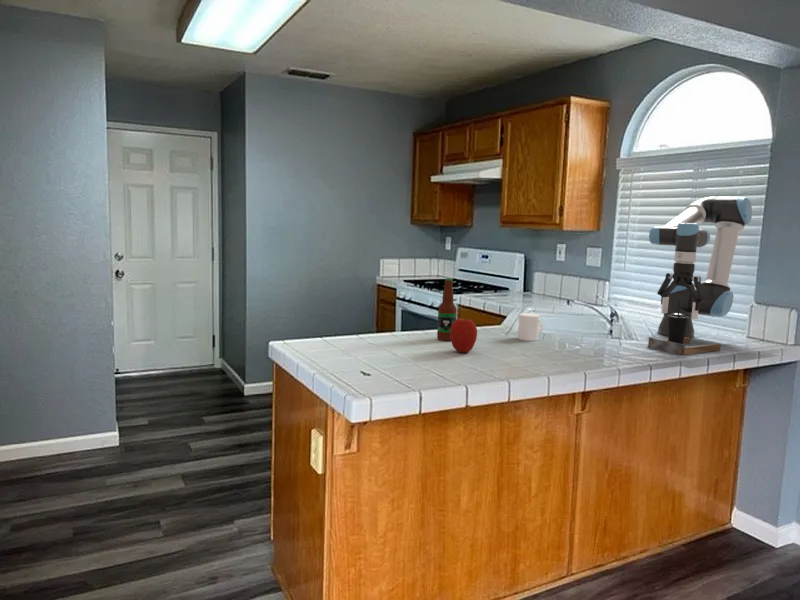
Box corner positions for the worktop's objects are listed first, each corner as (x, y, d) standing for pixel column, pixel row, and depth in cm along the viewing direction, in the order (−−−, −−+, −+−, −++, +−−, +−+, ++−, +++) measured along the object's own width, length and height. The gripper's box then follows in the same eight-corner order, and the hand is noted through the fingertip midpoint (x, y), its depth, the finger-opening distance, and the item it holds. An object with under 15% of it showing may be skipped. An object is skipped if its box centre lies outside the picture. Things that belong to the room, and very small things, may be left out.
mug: (515, 313, 250) (536, 312, 256) (513, 337, 251) (534, 335, 257) (529, 316, 243) (550, 315, 249) (527, 341, 244) (548, 339, 250)
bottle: (435, 340, 240) (437, 279, 237) (439, 337, 247) (442, 277, 244) (452, 342, 238) (455, 280, 234) (456, 338, 245) (459, 278, 241)
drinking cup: (673, 351, 234) (678, 301, 231) (660, 347, 241) (664, 298, 239) (690, 351, 236) (694, 301, 233) (676, 347, 243) (680, 298, 241)
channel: (647, 346, 242) (648, 337, 241) (686, 342, 253) (687, 333, 253) (680, 355, 229) (681, 345, 228) (719, 350, 240) (720, 340, 239)
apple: (443, 350, 223) (445, 313, 221) (465, 348, 228) (467, 312, 226) (459, 356, 215) (461, 318, 213) (481, 353, 220) (483, 316, 218)
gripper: (651, 259, 243) (646, 311, 246) (707, 265, 221) (701, 321, 224) (663, 259, 246) (658, 310, 249) (720, 265, 224) (714, 320, 228)
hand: (678, 315), depth 237 cm, fingers open, 13 cm apart
